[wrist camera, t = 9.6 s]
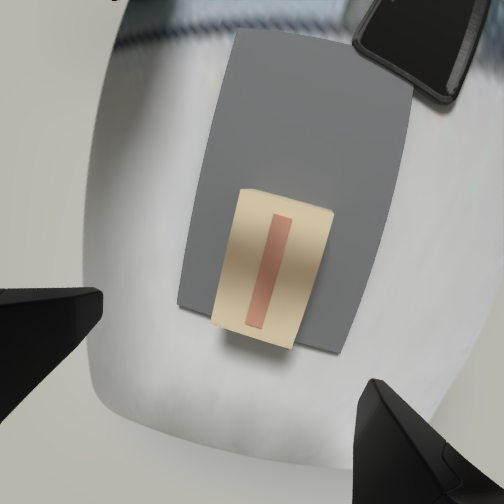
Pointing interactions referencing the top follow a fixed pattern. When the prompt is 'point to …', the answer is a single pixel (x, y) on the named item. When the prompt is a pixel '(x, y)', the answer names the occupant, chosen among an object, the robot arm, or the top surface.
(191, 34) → the top surface
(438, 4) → the phone
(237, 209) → the beige wooden block
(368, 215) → the mat
